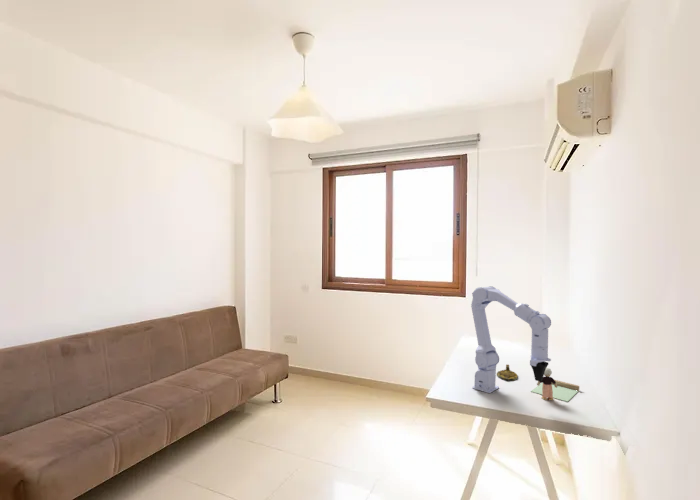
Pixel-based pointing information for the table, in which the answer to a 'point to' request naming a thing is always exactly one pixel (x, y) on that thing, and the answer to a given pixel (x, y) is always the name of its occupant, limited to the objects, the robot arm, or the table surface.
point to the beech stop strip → (567, 385)
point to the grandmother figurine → (547, 385)
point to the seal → (507, 374)
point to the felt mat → (557, 392)
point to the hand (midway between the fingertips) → (538, 380)
